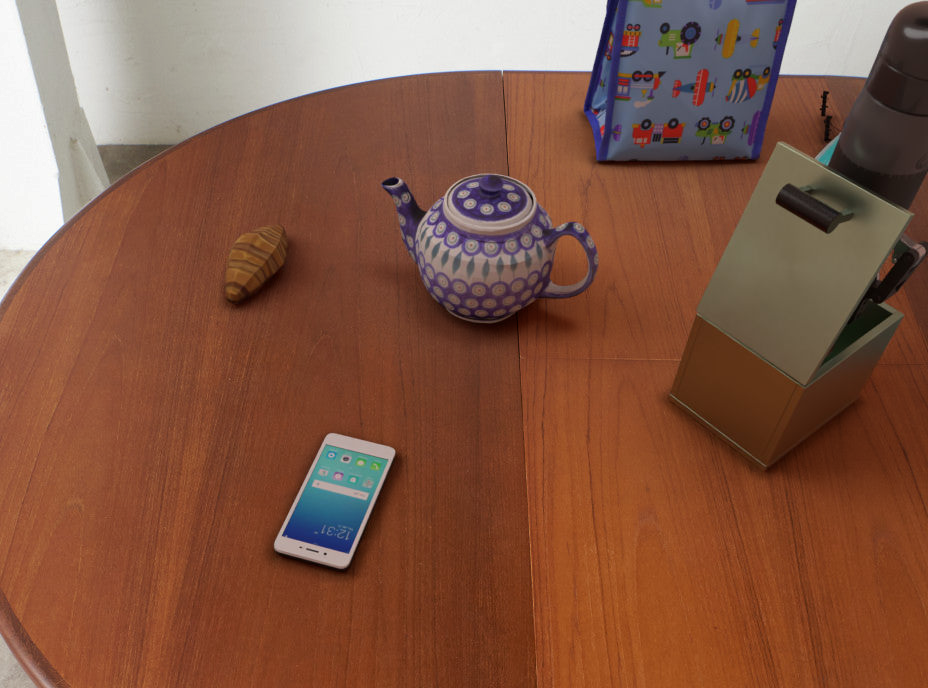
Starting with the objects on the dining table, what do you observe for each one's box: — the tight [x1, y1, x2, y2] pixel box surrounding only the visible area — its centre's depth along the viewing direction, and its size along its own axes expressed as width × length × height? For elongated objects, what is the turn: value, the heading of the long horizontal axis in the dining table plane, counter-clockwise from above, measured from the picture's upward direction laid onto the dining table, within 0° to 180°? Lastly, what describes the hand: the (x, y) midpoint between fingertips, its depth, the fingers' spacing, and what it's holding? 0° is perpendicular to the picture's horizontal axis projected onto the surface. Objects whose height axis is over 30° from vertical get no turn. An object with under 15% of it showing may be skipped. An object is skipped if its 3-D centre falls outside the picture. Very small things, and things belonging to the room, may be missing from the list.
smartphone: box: [273, 432, 396, 572], centre depth 89 cm, size 8×1×15 cm
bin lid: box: [695, 140, 916, 386], centre depth 79 cm, size 16×13×5 cm
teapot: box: [380, 173, 600, 324], centre depth 102 cm, size 25×15×15 cm, turn 63°
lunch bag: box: [583, 0, 798, 162], centre depth 116 cm, size 22×14×29 cm, turn 93°
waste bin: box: [667, 299, 905, 472], centre depth 94 cm, size 16×13×12 cm
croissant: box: [223, 224, 289, 305], centre depth 108 cm, size 14×7×5 cm, turn 161°
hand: (814, 303), depth 90 cm, fingers closed on pill bottle, 6 cm apart
